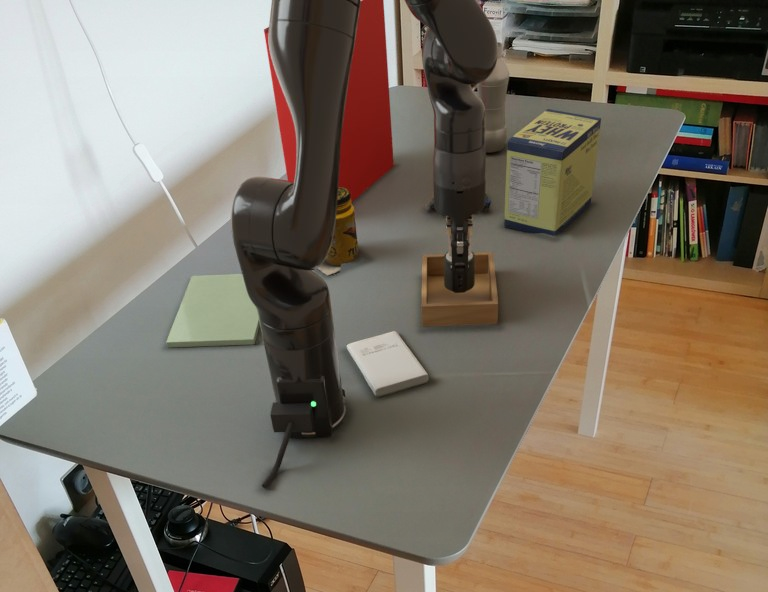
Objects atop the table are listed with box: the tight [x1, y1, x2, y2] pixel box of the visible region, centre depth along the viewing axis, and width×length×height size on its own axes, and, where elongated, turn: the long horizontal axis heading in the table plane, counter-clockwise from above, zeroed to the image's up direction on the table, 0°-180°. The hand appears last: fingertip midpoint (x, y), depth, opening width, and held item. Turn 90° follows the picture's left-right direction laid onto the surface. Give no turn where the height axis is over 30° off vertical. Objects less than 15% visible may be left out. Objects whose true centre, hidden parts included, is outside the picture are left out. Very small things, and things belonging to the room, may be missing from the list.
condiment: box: [317, 187, 359, 276], centre depth 140 cm, size 7×8×12 cm
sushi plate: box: [165, 273, 260, 348], centre depth 135 cm, size 20×14×1 cm
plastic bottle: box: [476, 41, 510, 153], centre depth 164 cm, size 6×7×20 cm
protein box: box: [503, 108, 602, 237], centre depth 144 cm, size 10×16×16 cm
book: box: [263, 0, 395, 203], centre depth 151 cm, size 27×8×32 cm, turn 151°
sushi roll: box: [444, 250, 475, 291], centre depth 127 cm, size 5×5×5 cm
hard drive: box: [346, 330, 429, 398], centre depth 121 cm, size 2×8×12 cm
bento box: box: [420, 251, 499, 327], centre depth 130 cm, size 16×12×4 cm
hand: (459, 282), depth 129 cm, fingers closed on sushi roll, 4 cm apart
